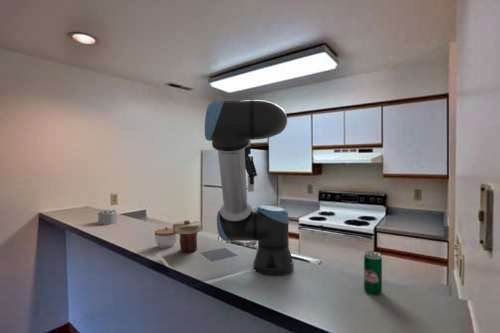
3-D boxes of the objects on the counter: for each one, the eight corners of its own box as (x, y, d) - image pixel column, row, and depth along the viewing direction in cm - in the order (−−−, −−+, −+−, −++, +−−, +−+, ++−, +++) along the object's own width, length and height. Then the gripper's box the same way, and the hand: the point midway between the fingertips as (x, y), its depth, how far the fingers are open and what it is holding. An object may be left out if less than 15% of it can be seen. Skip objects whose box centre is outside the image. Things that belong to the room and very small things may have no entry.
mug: (184, 248, 126) (183, 226, 126) (201, 249, 124) (201, 227, 124) (171, 257, 114) (171, 233, 114) (190, 259, 112) (190, 234, 112)
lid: (204, 231, 117) (204, 221, 117) (177, 235, 111) (177, 225, 111) (195, 226, 127) (195, 217, 127) (169, 229, 121) (169, 220, 121)
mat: (237, 257, 113) (237, 255, 113) (211, 263, 107) (211, 261, 107) (224, 249, 124) (224, 247, 123) (200, 254, 117) (200, 252, 117)
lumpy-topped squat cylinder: (113, 220, 189) (113, 208, 188) (119, 223, 179) (119, 210, 179) (96, 222, 181) (96, 210, 181) (102, 226, 172) (102, 212, 172)
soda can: (361, 291, 83) (361, 253, 83) (367, 286, 86) (367, 249, 86) (378, 297, 79) (378, 257, 79) (384, 291, 83) (384, 253, 83)
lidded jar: (169, 251, 122) (169, 230, 122) (149, 249, 126) (149, 229, 126) (182, 244, 132) (182, 225, 132) (164, 242, 136) (164, 224, 136)
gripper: (264, 145, 121) (264, 192, 121) (236, 147, 142) (237, 187, 142) (250, 144, 117) (250, 193, 117) (224, 147, 138) (224, 188, 138)
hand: (243, 190), depth 130 cm, fingers open, 13 cm apart
